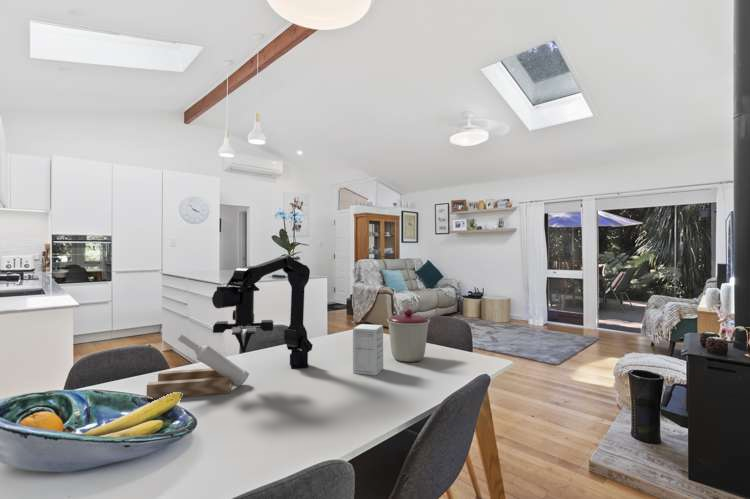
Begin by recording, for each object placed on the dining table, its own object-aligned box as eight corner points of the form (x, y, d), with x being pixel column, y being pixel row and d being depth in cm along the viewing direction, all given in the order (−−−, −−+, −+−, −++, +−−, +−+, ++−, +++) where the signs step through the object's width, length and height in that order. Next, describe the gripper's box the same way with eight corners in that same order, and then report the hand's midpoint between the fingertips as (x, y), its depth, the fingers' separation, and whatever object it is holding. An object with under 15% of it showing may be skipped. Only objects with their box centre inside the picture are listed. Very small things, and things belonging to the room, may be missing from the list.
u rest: (233, 379, 129) (233, 367, 129) (228, 393, 117) (228, 379, 117) (160, 385, 124) (160, 371, 124) (146, 400, 111) (146, 385, 111)
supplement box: (383, 368, 144) (384, 324, 144) (376, 376, 135) (377, 329, 135) (360, 366, 146) (360, 323, 147) (352, 373, 138) (352, 327, 138)
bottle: (246, 381, 121) (179, 337, 114) (237, 389, 122) (170, 346, 115) (251, 369, 125) (187, 326, 119) (242, 378, 127) (179, 336, 120)
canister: (377, 358, 157) (378, 308, 157) (405, 351, 170) (406, 304, 170) (410, 368, 144) (411, 313, 145) (438, 359, 157) (438, 309, 157)
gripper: (273, 301, 134) (273, 345, 134) (218, 302, 130) (217, 347, 129) (273, 305, 124) (272, 352, 123) (213, 307, 119) (212, 356, 119)
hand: (243, 352), depth 124 cm, fingers closed
